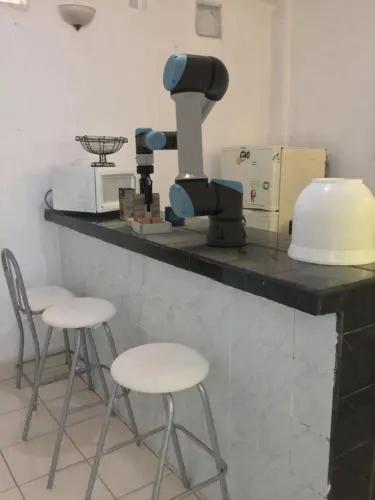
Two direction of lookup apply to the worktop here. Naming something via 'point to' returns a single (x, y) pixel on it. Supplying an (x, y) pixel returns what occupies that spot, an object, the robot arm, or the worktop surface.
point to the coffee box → (126, 202)
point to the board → (130, 222)
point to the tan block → (140, 206)
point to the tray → (152, 228)
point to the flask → (173, 217)
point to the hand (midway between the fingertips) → (146, 218)
